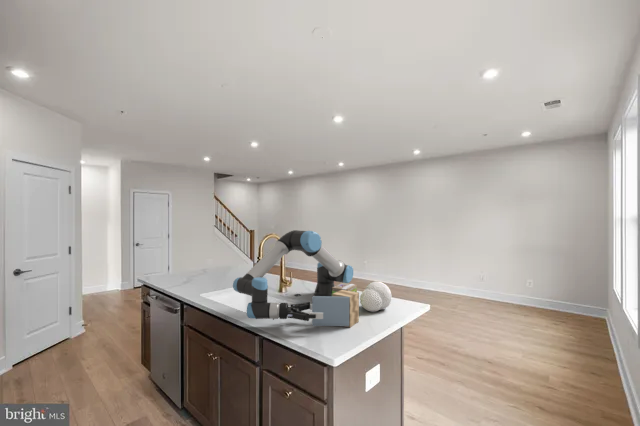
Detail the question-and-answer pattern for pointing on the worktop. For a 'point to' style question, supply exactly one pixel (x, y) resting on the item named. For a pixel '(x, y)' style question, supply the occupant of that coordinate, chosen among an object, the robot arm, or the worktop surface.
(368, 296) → the cauliflower
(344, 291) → the carton
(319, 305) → the flap
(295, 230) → the robot arm
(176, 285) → the worktop surface
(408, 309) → the worktop surface
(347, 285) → the tea box
